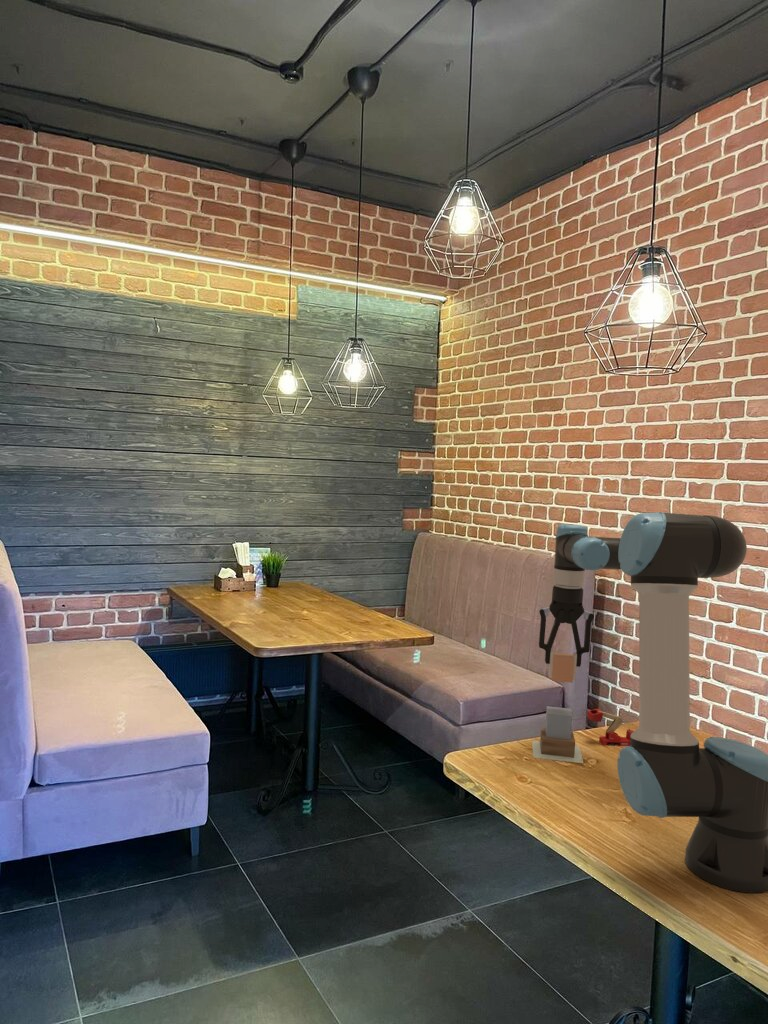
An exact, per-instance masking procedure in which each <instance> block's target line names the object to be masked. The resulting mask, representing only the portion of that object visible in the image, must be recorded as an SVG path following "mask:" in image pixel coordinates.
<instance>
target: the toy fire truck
mask: <svg viewBox="0 0 768 1024" xmlns="http://www.w3.org/2000/svg"><path fill="white" fill-rule="evenodd" d="M586 717H587V719H589V721H590V722H599V723H601V722H602V720H603V717H604V718H606V719H609V720H612V721H611V723H610V724H609V726H608V727H607V728H606V729H605V736H604V735H603V736H599V740H598V741H599V743H601V745H602V746H607V747H608V746H609V747H610V746H614V747H616V746H617V747H619V746H620V747H627V746H630V736H631V734H632V733H633V732H634V731H635V730H632V729H630V728H629V729H626V734H625V737H624V736H621V735H619V734H618V733H617V732H615V731H617V730H618V729H619V728H620V726H622V725H624V722H625V721H624V719H622V718H621V717H620V715H615V714H611V713H608V712H605V711H601V710H600V709H599V708H595V709H590V710H588V711H587V715H586Z"/></svg>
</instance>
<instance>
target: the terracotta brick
mask: <svg viewBox="0 0 768 1024" xmlns="http://www.w3.org/2000/svg"><path fill="white" fill-rule="evenodd" d="M573 669H574V657H573V653H564V652H562V653H561V652H554V656H553V669H552V678H551V681H552V682H561V683H562V682H563V683H571V684H572V683H574V680H573Z"/></svg>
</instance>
